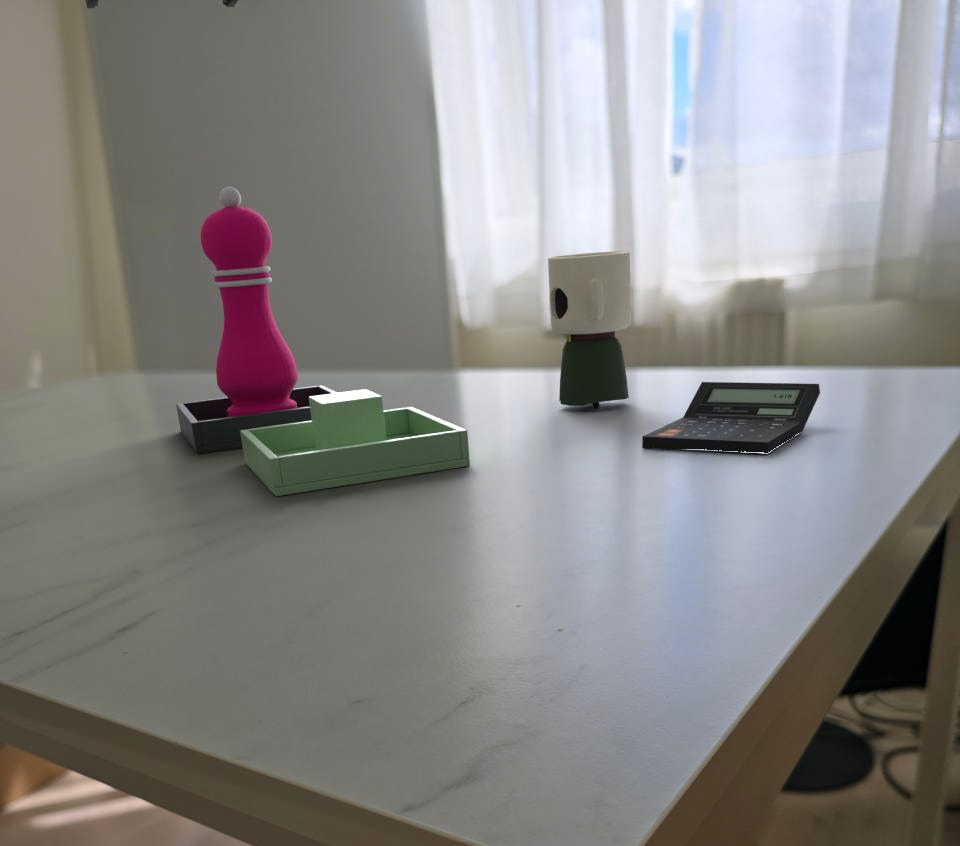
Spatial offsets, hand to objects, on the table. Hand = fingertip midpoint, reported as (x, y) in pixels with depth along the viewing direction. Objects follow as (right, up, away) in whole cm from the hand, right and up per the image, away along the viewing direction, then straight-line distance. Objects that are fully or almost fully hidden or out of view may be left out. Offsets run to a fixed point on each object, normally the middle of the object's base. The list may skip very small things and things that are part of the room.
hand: (163, 3), depth 73 cm
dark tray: (+3, -26, +21) cm, 34 cm away
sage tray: (+13, -32, +5) cm, 35 cm away
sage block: (+13, -31, +4) cm, 34 cm away
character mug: (+33, -24, +20) cm, 46 cm away
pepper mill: (+3, -26, +21) cm, 33 cm away
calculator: (+42, -30, +4) cm, 52 cm away
